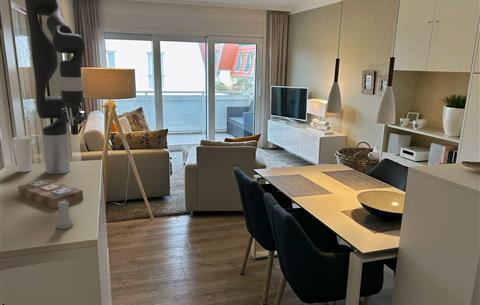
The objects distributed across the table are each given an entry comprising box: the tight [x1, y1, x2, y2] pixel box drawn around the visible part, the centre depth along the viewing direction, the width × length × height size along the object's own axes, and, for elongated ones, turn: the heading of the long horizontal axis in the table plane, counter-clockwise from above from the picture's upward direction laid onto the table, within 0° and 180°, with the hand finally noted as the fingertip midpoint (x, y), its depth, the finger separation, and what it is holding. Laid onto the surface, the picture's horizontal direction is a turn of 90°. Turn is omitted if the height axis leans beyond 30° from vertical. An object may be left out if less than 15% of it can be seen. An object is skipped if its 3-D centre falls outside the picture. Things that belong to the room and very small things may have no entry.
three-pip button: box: [28, 180, 48, 188], centre depth 128 cm, size 4×4×2 cm
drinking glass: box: [12, 135, 33, 173], centre depth 152 cm, size 7×7×15 cm
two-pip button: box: [52, 188, 72, 196], centre depth 121 cm, size 4×4×2 cm
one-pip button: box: [40, 184, 60, 192], centre depth 124 cm, size 4×4×2 cm
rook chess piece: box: [56, 200, 74, 230], centre depth 103 cm, size 4×4×8 cm
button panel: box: [17, 178, 84, 210], centre depth 125 cm, size 21×11×4 cm, turn 59°
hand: (74, 134), depth 135 cm, fingers closed
